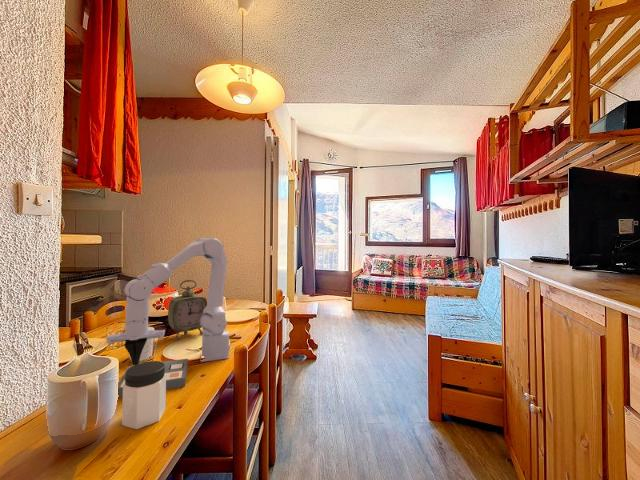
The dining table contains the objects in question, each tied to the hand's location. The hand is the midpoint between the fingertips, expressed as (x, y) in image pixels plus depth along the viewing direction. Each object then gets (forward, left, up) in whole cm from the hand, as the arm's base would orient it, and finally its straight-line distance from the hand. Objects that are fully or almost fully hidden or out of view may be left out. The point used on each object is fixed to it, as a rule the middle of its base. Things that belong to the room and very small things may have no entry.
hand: (135, 363), depth 83 cm
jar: (-6, +21, -5) cm, 23 cm away
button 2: (-11, 0, -5) cm, 12 cm away
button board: (-6, +2, -5) cm, 8 cm away
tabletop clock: (-12, -37, -5) cm, 39 cm away
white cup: (+2, -18, -5) cm, 19 cm away
